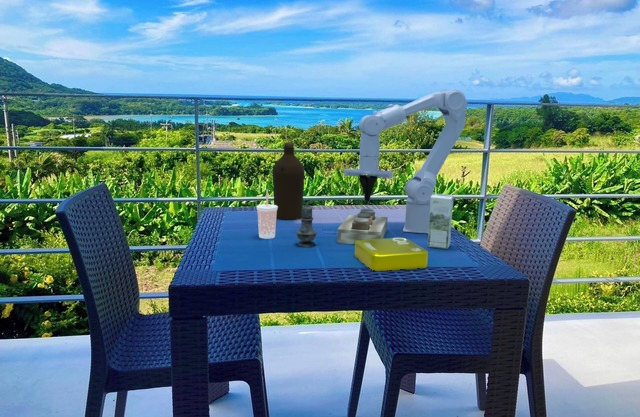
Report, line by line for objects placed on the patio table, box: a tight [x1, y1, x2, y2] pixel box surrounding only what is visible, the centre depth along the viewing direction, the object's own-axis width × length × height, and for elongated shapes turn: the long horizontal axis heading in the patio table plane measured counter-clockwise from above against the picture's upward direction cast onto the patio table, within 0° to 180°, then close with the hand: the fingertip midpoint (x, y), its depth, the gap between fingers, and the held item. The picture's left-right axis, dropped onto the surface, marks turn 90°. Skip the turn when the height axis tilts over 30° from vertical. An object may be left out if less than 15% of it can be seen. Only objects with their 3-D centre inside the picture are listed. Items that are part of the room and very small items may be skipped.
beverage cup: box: [256, 188, 278, 240], centre depth 163 cm, size 6×6×14 cm
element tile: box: [354, 237, 429, 272], centre depth 143 cm, size 15×15×5 cm
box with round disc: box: [359, 208, 376, 220], centre depth 173 cm, size 4×4×4 cm
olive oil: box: [272, 141, 306, 221], centre depth 188 cm, size 11×11×25 cm
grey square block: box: [336, 214, 388, 245], centre depth 167 cm, size 12×20×4 cm, turn 168°
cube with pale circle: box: [352, 218, 370, 230], centre depth 160 cm, size 4×4×4 cm
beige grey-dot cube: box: [356, 212, 372, 225], centre depth 166 cm, size 4×4×4 cm
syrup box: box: [427, 193, 454, 250], centre depth 157 cm, size 6×6×14 cm
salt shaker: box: [295, 202, 318, 248], centre depth 155 cm, size 6×6×12 cm
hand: (367, 200), depth 172 cm, fingers closed
